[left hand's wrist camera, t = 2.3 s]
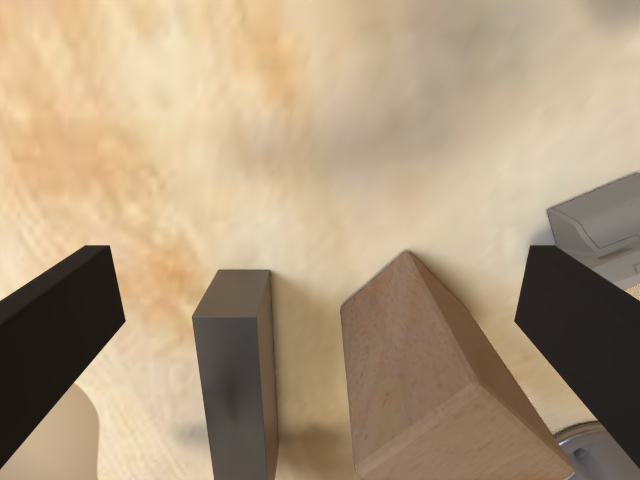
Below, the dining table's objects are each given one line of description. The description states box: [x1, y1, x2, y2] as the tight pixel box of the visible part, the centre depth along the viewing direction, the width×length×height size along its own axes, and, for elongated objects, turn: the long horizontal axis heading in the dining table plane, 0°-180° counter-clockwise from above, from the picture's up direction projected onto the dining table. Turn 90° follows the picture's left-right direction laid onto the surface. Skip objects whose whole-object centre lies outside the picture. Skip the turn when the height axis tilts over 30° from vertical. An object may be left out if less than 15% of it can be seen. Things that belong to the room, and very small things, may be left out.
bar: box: [192, 270, 279, 480], centre depth 41 cm, size 25×6×9 cm, turn 0°
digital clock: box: [547, 173, 640, 290], centre depth 34 cm, size 16×9×11 cm, turn 104°
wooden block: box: [340, 251, 574, 480], centre depth 33 cm, size 10×10×20 cm
